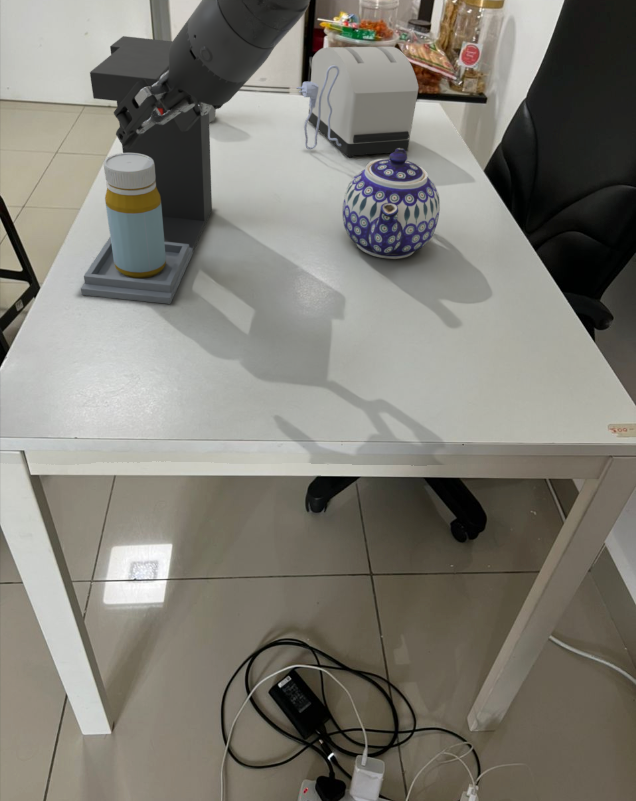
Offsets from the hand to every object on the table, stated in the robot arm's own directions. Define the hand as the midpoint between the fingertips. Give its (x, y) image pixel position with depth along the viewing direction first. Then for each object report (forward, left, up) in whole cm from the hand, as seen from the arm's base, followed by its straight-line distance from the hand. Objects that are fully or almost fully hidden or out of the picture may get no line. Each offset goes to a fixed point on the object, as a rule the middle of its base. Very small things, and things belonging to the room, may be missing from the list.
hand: (152, 132), depth 74 cm
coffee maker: (+3, +12, -21) cm, 25 cm away
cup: (+34, +60, -22) cm, 72 cm away
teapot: (+37, -2, -22) cm, 43 cm away
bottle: (-1, +6, -21) cm, 21 cm away
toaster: (+56, +40, -22) cm, 72 cm away
